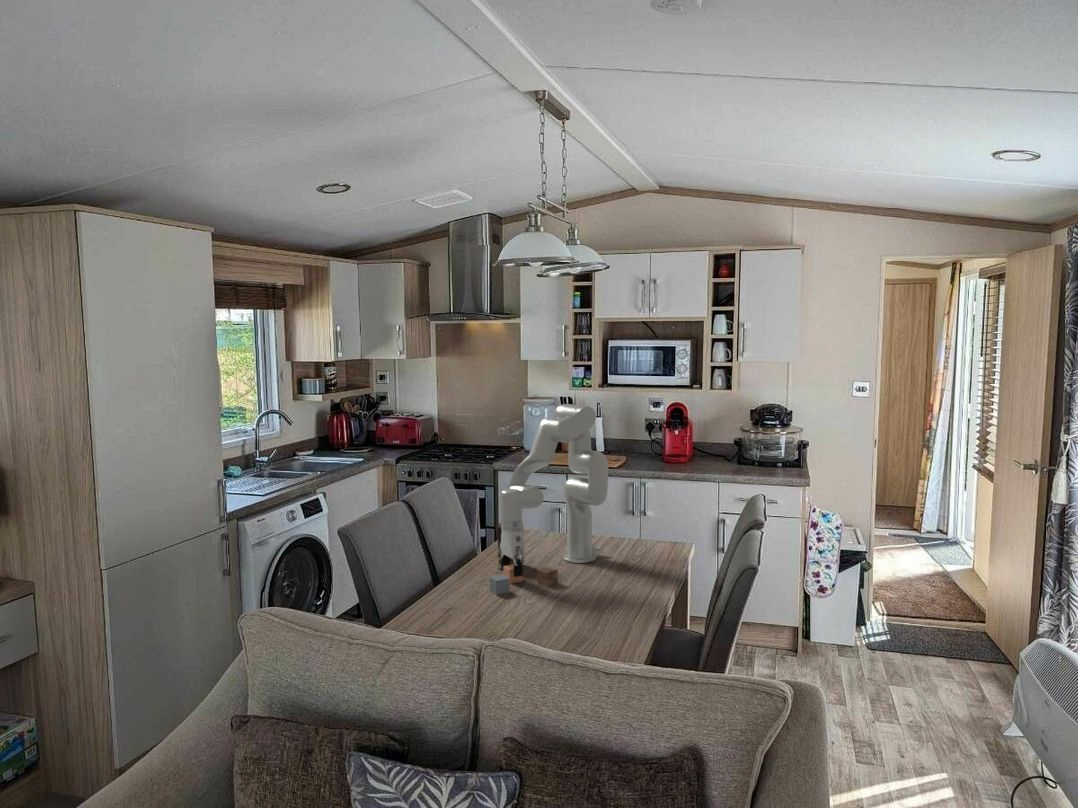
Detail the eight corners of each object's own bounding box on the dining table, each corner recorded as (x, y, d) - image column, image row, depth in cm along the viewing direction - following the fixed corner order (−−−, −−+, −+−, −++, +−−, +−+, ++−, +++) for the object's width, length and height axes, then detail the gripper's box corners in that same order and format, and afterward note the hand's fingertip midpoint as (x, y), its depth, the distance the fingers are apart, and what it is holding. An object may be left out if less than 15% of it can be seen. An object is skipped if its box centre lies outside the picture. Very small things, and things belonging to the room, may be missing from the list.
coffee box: (497, 569, 278) (496, 526, 276) (500, 564, 284) (499, 522, 283) (522, 569, 277) (521, 527, 275) (524, 564, 283) (523, 522, 282)
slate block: (503, 588, 258) (502, 574, 257) (509, 592, 253) (509, 578, 253) (489, 591, 255) (489, 576, 255) (496, 595, 251) (495, 580, 250)
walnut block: (548, 580, 265) (548, 566, 265) (557, 583, 261) (557, 569, 261) (537, 583, 262) (537, 569, 262) (546, 586, 258) (546, 572, 258)
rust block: (516, 577, 269) (516, 563, 268) (522, 581, 264) (522, 567, 264) (503, 579, 266) (503, 566, 266) (509, 583, 262) (509, 569, 262)
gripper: (532, 528, 258) (532, 577, 259) (510, 518, 273) (510, 564, 274) (512, 531, 254) (513, 580, 255) (491, 520, 269) (492, 567, 271)
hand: (512, 572), depth 265 cm, fingers open, 9 cm apart
